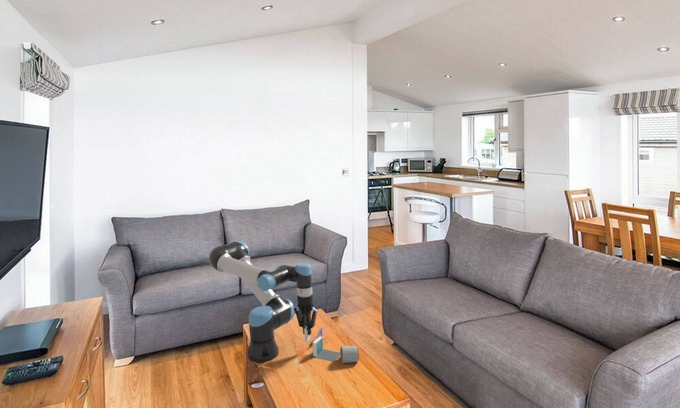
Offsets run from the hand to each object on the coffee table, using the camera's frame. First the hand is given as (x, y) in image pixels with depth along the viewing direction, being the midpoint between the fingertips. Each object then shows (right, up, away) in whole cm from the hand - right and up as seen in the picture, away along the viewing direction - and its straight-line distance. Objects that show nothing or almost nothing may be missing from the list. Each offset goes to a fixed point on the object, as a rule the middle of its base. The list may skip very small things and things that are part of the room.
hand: (307, 340), depth 210 cm
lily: (+6, -5, +11) cm, 13 cm away
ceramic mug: (+20, -7, -9) cm, 23 cm away
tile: (+5, -6, -2) cm, 8 cm away
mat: (+9, -6, -3) cm, 11 cm away
